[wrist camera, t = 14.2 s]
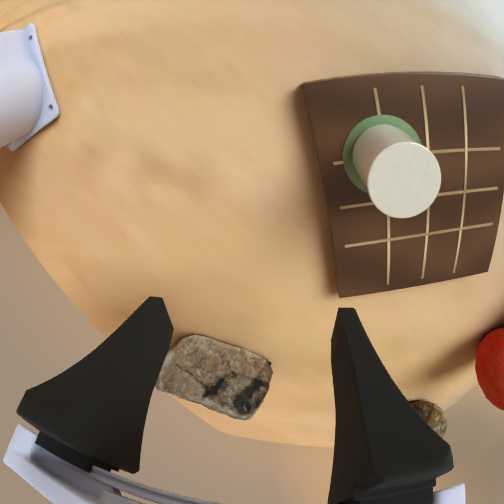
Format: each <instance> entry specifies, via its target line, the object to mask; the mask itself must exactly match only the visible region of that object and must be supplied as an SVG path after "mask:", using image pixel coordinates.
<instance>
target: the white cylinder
mask: <svg viewBox="0 0 504 504" xmlns="http://www.w3.org/2000/svg"><path fill="white" fill-rule="evenodd" d="M353 164H354V167H355V170H356V172H357V174H358V175H359V177H360V179H361V181H362V183H363V185H364V187H365V189H366V191H367V193H368V195H369V197H370V199H371V201H372V202H373V204H374V205H375V206H376V208H377V209H378V210H380V211H381V212H382V213H384V214H386V215H388V216H391V217H394V218H409V217H413V216H416V215H418V214H420V213H422V212H423V211H425V210H426V209H427V208H428V207H429V206H430V205H431V204H432V203H433V201H434V200H435V198H436V197H437V194H438V192H439V189H440V185H441V171H440V167H439V164H438V161H437V159H436V158H435V156H434V155H433V154H432V152H431V151H430V150H428V149H427V148H426V147H425V146H423V145H422V144H421V143H419V142H418V141H416V140H415V139H414V138H412V137H411V136H409V135H408V134H407V133H405V132H404V131H402V130H401V129H399V128H397V127H395V126H392V125H386V124H381V125H376V126H373V127H370V128H368V129H367V130H365V131H364V132H363V133H362V134H361V135H360V136H359V138H358V139H357V141H356V143H355V145H354V148H353Z"/></svg>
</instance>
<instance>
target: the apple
mask: <svg viewBox="0 0 504 504" xmlns="http://www.w3.org/2000/svg"><path fill="white" fill-rule="evenodd" d="M475 370H476V375H477V379H478V383H479V385H480V387H481V389H482V390H483V392H484V394H485V396H486V398H487V399H488V400H489V401H490V402H491V403H492V404H493V405H494V406H496V407H498V408H499V409H501V410H504V327H502V328H498V329H495V330H494V331H492V332H490V333H488V334H487V336H486V337H485V338H484V339H483V340H482V341H481V342H480V344H479V345H478V348H477V351H476V363H475Z"/></svg>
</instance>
